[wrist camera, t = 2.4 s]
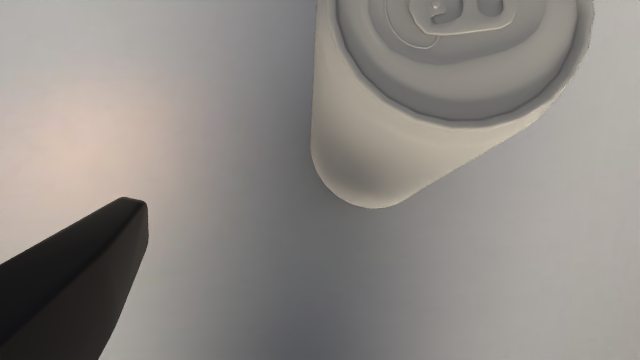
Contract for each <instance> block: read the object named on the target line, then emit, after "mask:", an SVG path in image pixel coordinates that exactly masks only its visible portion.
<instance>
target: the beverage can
mask: <svg viewBox="0 0 640 360" xmlns="http://www.w3.org/2000/svg"><path fill="white" fill-rule="evenodd" d="M593 20H594V4H593V0H318V2H317V13H316V35H315V56H314V78H313V99H312V121H311V156H312V159H313V162H314V166H315V169H316V171H317V173H318V174H319V176H320V178H321V179H322V181H323V183H324V184H325V185H326V186H327V187H328V188H329V189H330V190H331V191H332V192H333V193H334V194H335V195H336V196H338V197H340V198H341V199H343V200H345V201H347V202H349V203H350V204H353V205H357V206H361V207H365V208H386V207H389V206H392V205H394V204H397V203H400V202H402V201H404V200H405V199H407V198H409V197H410V196H412V195H413V194H415V193H416V192H418V191H420V190H421V189H423V188H424V187H426V186H428V185H429V184H431V183H433V182H434V181H436V180H438V179H439V178H441V177H443V176H445V175H447V174H448V173H450V172H452V171H454V170H455V169H457V168H459V167H461V166H463V165H464V164H466V163H468V162H470V161H471V160H473V159H475V158H476V157H478V156H480V155H481V154H483V153H485V152H486V151H488V150H490V149H491V148H493V147H495V146H496V145H498V144H500V143H501V142H503V141H505V140H506V139H508V138H510V137H511V136H513V135H514V134H516V133H518V132H519V131H521V130H523V129H524V128H526V127H527V126H529V125H531V124H532V123H534V122H535V121H536V120H538V119H539V118H540V116H541V115H542V114H543V113H544V112H545V111H546V110H547V109H548V108H549V107H550V106H551V105H552V103H553V102H554V101H555V100H556V99H557V98H558V97H559V96H560V95H561V93H562V91H563V89H564V87H565V86H566V85H567V84H568V83H569V82H570V81H571V80H572V79H573V78H574V76H575V74H576V72H577V70H578V68H579V66H580V64H581V62H582V60H583V58H584V56H585V54H586V52H587V50H588V48H589V43H590V37H591V32H592V26H593Z"/></svg>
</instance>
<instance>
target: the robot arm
mask: <svg viewBox="0 0 640 360" xmlns="http://www.w3.org/2000/svg"><path fill="white" fill-rule="evenodd" d="M148 238H149V233H148V207H147V204H146V203H145V202H144V201H142V200H137V199H133V198H128V197H121V198H118V199H116V200H115V201H113V202H111V203H109V204H107V205H106V206H104V207H102V208H100V209H99V210H97V211H95V212H93V213H91V214H90V215H88V216H86V217H84V218H82V219H81V220H79V221H77V222H75V223H74V224H72V225H70V226H68V227H66V228H65V229H63V230H61V231H59V232H58V233H56V234H54V235H52V236H50V237H49V238H47V239H45V240H43V241H42V242H40V243H38V244H36V245H34V246H33V247H31V248H29V249H27V250H25V251H24V252H22V253H20V254H18V255H17V256H15V257H13V258H11V259H9V260H8V261H6V262H4V263H2V264H1V265H0V360H98V359H99V357H100V355H101V353H102V351H103V350H104V348H105V346H106V344H107V342H108V340H109V338H110V336H111V334H112V332H113V330H114V328H115V326H116V324H117V321H118V319H119V317H120V314H121V312H122V309H123V307H124V304H125V302H126V299H127V297H128V294H129V292H130V289H131V287H132V284H133V282H134V279H135V277H136V274H137V271H138V269H139V266H140V264H141V261H142V259H143V256H144V254H145V251H146V248H147V245H148Z"/></svg>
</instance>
